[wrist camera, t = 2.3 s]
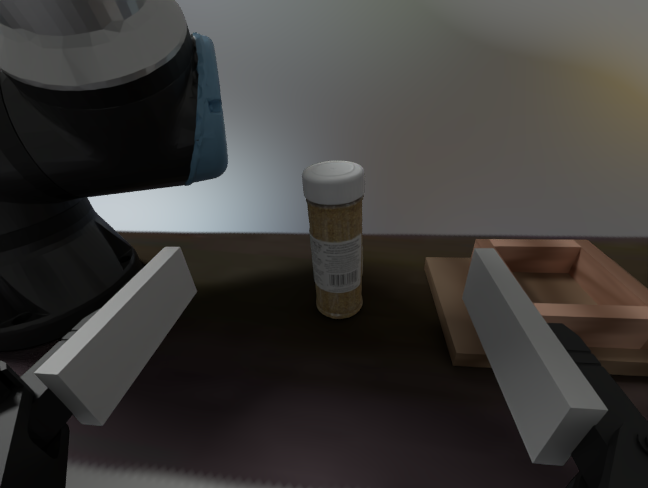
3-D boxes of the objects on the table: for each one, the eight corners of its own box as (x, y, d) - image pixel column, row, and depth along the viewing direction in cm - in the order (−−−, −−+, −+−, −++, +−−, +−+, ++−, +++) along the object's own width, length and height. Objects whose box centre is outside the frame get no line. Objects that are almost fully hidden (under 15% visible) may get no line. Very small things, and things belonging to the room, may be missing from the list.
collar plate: (453, 365, 22) (464, 324, 20) (424, 268, 32) (429, 233, 30) (727, 380, 20) (779, 336, 18) (605, 271, 30) (627, 234, 28)
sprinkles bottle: (361, 288, 30) (363, 157, 23) (363, 322, 26) (366, 178, 19) (317, 287, 31) (305, 159, 23) (312, 321, 27) (296, 180, 19)
